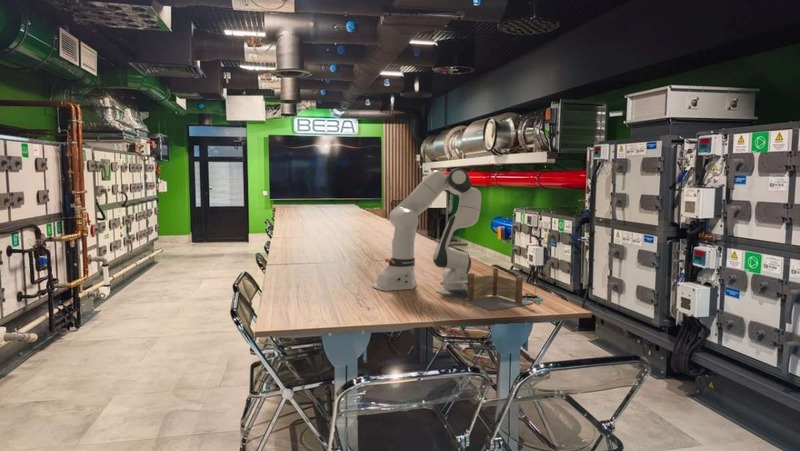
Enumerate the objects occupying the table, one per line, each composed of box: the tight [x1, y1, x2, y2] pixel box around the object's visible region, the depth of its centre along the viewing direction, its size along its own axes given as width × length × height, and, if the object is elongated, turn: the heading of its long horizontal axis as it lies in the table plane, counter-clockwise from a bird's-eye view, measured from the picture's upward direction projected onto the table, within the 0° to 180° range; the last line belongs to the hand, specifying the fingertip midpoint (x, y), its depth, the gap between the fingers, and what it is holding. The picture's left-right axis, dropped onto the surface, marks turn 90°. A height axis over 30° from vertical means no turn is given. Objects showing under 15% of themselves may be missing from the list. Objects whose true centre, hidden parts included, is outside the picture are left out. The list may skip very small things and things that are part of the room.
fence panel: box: [467, 272, 494, 299], centre depth 236 cm, size 2×15×11 cm, turn 127°
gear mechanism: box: [522, 288, 543, 305], centre depth 238 cm, size 20×5×9 cm
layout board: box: [435, 289, 534, 312], centre depth 239 cm, size 24×39×1 cm, turn 32°
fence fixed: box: [492, 267, 524, 303], centre depth 235 cm, size 2×18×13 cm, turn 33°
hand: (470, 288), depth 234 cm, fingers closed
